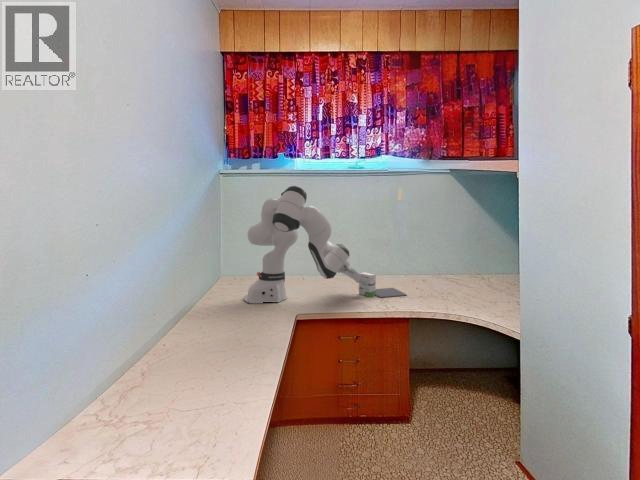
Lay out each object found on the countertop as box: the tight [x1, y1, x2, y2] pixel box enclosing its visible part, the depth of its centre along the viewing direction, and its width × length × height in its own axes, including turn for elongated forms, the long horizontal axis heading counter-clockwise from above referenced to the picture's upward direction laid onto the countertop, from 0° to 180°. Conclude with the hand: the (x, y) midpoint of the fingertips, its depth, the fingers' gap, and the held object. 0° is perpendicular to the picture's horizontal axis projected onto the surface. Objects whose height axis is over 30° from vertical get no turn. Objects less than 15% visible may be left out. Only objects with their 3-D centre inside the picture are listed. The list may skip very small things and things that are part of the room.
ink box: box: [358, 272, 377, 298], centre depth 238 cm, size 9×5×12 cm, turn 39°
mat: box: [375, 287, 408, 299], centre depth 243 cm, size 16×16×1 cm
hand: (358, 281), depth 236 cm, fingers closed
